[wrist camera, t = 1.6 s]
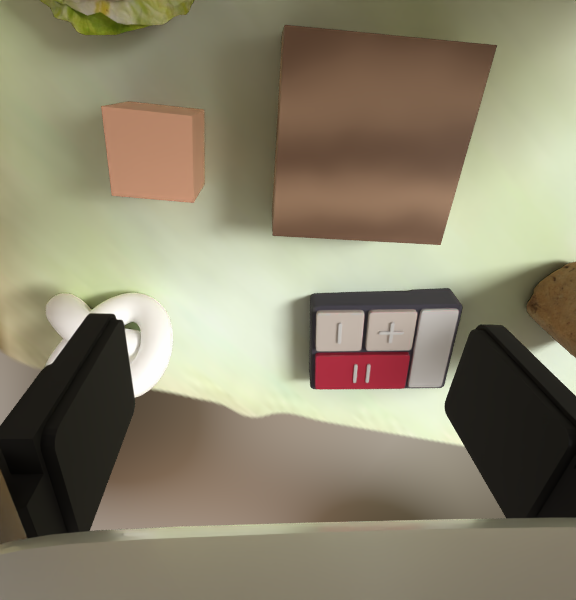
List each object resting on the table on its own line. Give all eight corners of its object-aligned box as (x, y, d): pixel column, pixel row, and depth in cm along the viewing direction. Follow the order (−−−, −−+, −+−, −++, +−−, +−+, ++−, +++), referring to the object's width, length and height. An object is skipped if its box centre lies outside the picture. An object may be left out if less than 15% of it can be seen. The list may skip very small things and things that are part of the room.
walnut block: (281, 34, 30) (284, 25, 25) (458, 50, 31) (497, 45, 26) (271, 213, 37) (272, 235, 31) (416, 221, 38) (440, 244, 33)
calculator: (311, 309, 38) (467, 308, 38) (309, 288, 42) (451, 287, 41) (310, 394, 43) (446, 393, 43) (308, 369, 47) (434, 368, 47)
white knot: (169, 264, 38) (144, 311, 31) (192, 360, 44) (176, 420, 37) (54, 273, 38) (0, 322, 31) (92, 368, 44) (55, 430, 37)
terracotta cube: (128, 101, 31) (101, 106, 26) (204, 109, 32) (192, 116, 27) (135, 177, 34) (111, 195, 29) (204, 183, 35) (193, 202, 30)
